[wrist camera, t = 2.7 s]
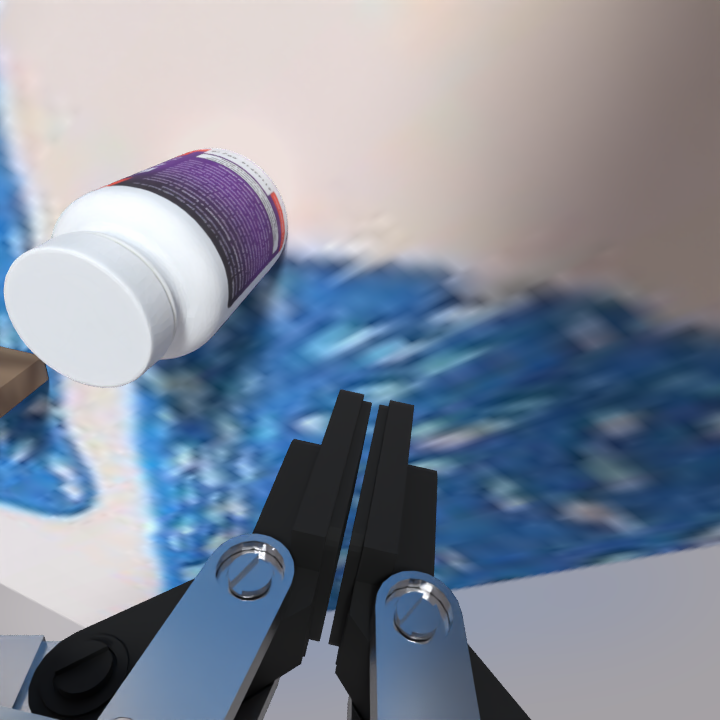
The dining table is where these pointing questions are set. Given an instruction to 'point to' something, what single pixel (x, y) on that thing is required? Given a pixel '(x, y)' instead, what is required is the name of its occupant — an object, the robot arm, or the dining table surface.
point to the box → (18, 377)
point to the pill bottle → (147, 266)
